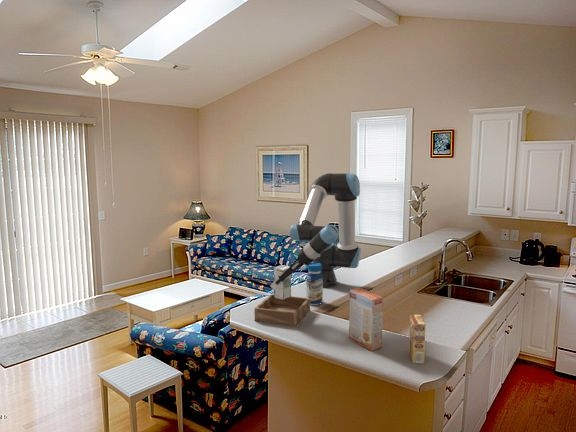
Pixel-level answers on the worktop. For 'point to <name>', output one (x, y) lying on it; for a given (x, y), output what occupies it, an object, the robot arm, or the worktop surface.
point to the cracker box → (366, 318)
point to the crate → (282, 310)
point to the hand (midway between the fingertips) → (275, 285)
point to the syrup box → (285, 287)
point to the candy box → (417, 339)
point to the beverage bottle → (314, 284)
